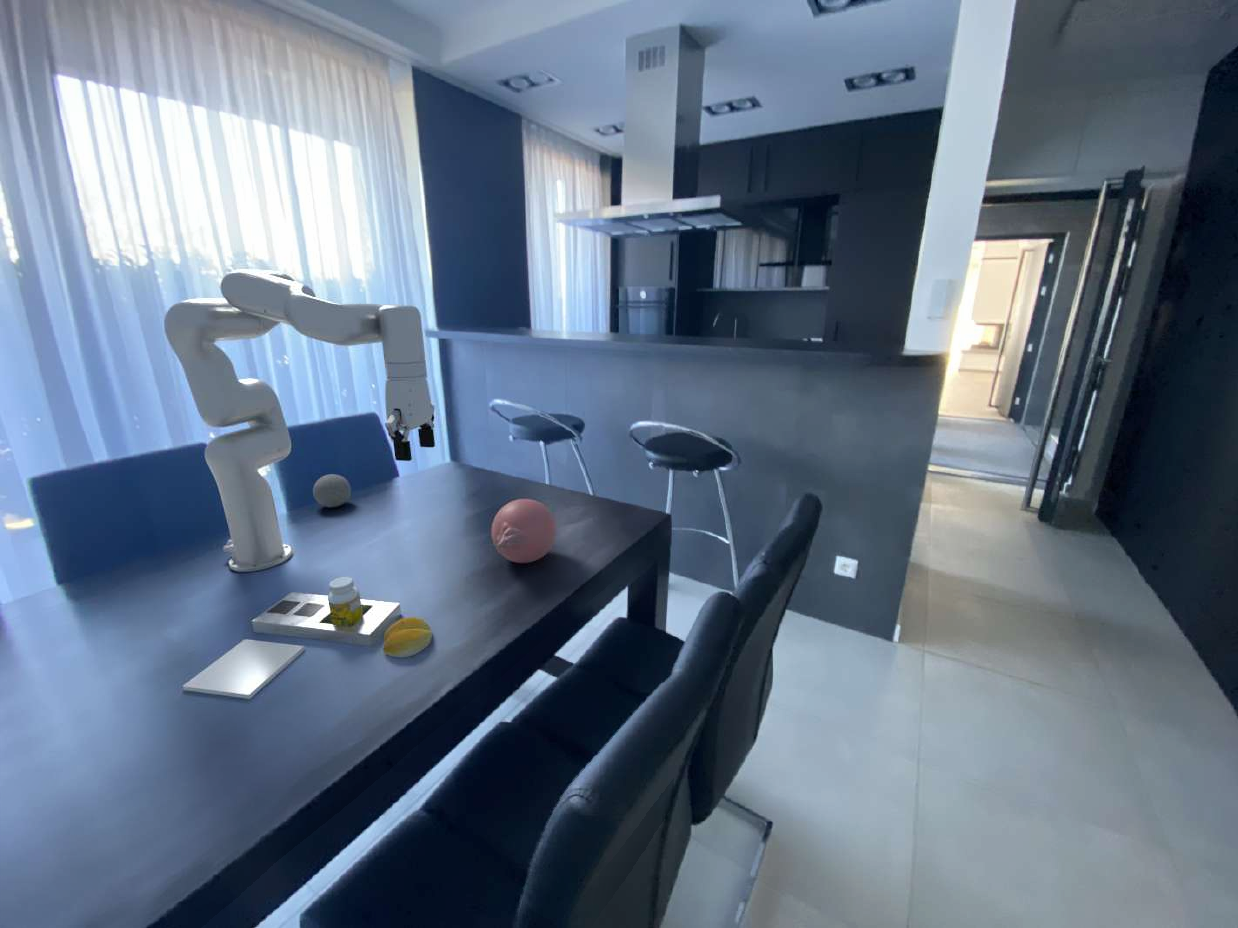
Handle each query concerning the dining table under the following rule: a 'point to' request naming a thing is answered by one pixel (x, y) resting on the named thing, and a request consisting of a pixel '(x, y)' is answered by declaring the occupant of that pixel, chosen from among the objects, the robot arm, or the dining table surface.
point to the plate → (244, 669)
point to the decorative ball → (332, 490)
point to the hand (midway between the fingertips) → (416, 453)
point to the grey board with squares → (325, 620)
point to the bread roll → (407, 637)
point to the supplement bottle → (344, 602)
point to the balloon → (523, 530)
